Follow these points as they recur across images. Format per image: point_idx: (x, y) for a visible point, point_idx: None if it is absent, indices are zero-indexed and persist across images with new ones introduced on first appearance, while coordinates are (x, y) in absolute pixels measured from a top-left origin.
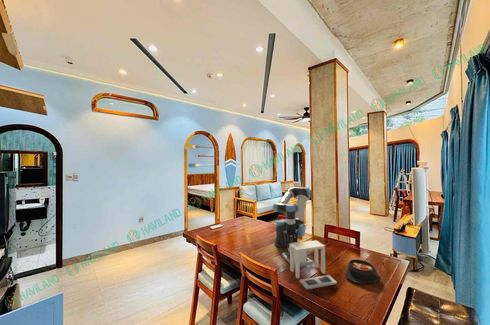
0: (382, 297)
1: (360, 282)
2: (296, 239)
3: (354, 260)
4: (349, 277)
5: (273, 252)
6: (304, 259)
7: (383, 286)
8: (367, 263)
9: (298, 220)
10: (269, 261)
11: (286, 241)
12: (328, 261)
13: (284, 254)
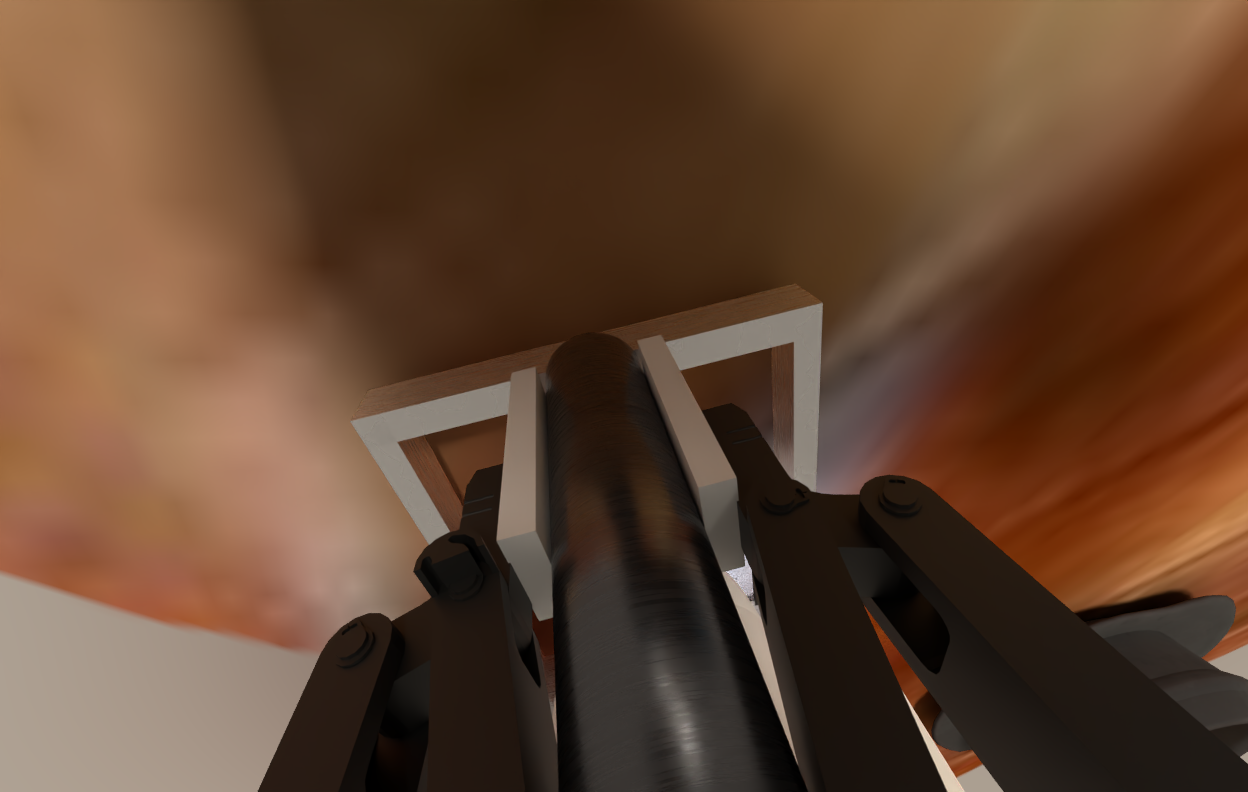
0: (961, 763)
1: (966, 748)
2: (936, 683)
3: (1206, 721)
4: (950, 726)
5: (74, 143)
6: None
7: None
8: (1244, 727)
9: None
10: (126, 542)
11: (399, 787)
12: (1041, 487)
13: (412, 479)
